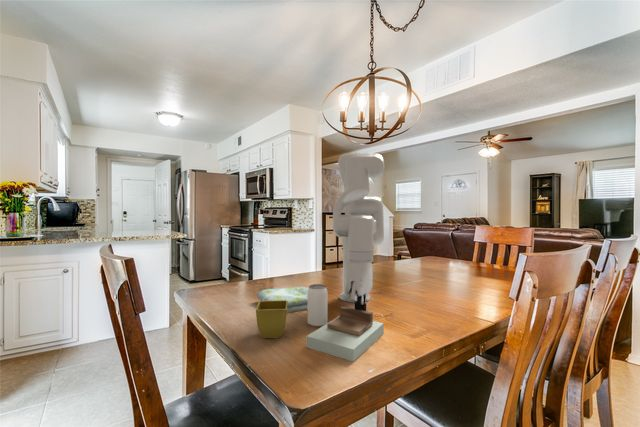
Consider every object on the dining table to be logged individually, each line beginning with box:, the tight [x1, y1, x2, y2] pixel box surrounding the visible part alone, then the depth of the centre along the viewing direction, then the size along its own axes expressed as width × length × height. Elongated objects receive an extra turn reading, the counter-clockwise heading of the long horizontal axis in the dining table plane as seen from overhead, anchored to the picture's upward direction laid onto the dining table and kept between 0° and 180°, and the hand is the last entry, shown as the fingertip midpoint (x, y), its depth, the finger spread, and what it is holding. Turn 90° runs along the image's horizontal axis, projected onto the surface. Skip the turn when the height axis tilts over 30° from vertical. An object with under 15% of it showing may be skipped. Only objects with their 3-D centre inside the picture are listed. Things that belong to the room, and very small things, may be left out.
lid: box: [326, 306, 374, 335], centre depth 87 cm, size 9×10×4 cm
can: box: [307, 283, 328, 327], centre depth 98 cm, size 6×6×12 cm
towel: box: [256, 286, 309, 314], centre depth 118 cm, size 18×21×5 cm
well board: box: [306, 315, 385, 362], centre depth 85 cm, size 20×14×3 cm
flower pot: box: [255, 300, 288, 339], centre depth 88 cm, size 9×9×9 cm
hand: (360, 316), depth 92 cm, fingers closed
